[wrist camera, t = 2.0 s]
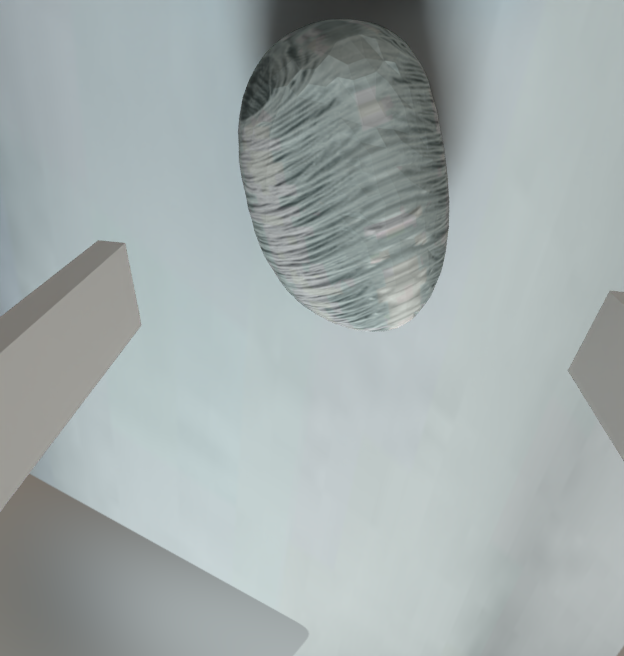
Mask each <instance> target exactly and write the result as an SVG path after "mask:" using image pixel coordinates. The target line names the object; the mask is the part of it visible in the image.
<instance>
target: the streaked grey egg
mask: <svg viewBox="0 0 624 656" xmlns="http://www.w3.org/2000/svg"><path fill="white" fill-rule="evenodd" d="M238 137H239V163H240V170H241V176H242V181H243V185H244V189H245V194H246V198H247V204H248V209H249V212H250V215H251V218H252V222H253V226H254V231H255V233H256V236H257V239H258V241H259V244H260V246H261V249H262V251H263V254H264V256H265V258H266V259H267V261H268V263H269V264H270V266H271V267H272V269H273V270H274V272H275V274H276V275H277V277H278V278H279V280H280V281H281V283H282V284H283V286H284V287H285V288H286V289H287V291H288V292H289V293H290V294H291V295H293V296H294V297H295V299H296V300H297V301H298V302H300V303H301V304H302V305H303V306H305V307H307V308H308V309H309V310H311V311H312V312H314V313H315V314H317V315H319V316H321V317H323V318H325V319H326V320H328V321H330V322H332V323H335V324H338V325H341V326H344V327H347V328H351V329H355V330H360V331H387V330H391V329H396V328H398V327H400V326H402V325H404V324H406V323H407V322H409V321H411V320H412V319H413V318H414V317H415V316H416V314H417V313H418V312H419V311H420V310H421V309H422V307H423V306H424V305H425V304H426V302H427V301H428V299H429V298H430V296H431V294H432V292H433V290H434V287H435V285H436V283H437V280H438V278H439V275H440V273H441V270H442V266H443V262H444V257H445V252H446V245H447V237H448V229H449V193H448V179H447V167H446V160H445V153H444V147H443V140H442V134H441V130H440V126H439V120H438V114H437V109H436V106H435V103H434V100H433V97H432V93H431V89H430V85H429V81H428V78H427V76H426V74H425V72H424V70H423V68H422V66H421V64H420V63H419V61H418V60H417V58H416V57H415V55H414V54H413V52H412V51H411V49H410V48H409V46H408V45H407V43H406V42H404V41H403V40H402V39H401V38H399V37H398V36H397V35H395V34H394V33H393V32H391V31H389V30H388V29H386V28H384V27H381V26H379V25H377V24H375V23H370V22H365V21H359V20H351V19H334V20H324V21H319V22H316V23H313V24H310V25H307V26H305V27H302V28H300V29H298V30H296V31H294V32H292V33H289V34H287V35H286V36H285V37H283V38H282V39H281V40H279V41H278V42H277V43H276V44H275V45H274V46H273V47H272V48H271V49H270V50H269V51H268V52H267V53H266V54H265V55H264V56H263V58H262V59H261V61H260V62H259V64H258V65H257V67H256V68H255V70H254V72H253V74H252V76H251V78H250V80H249V82H248V85H247V87H246V90H245V93H244V96H243V100H242V105H241V111H240V117H239V128H238Z"/></svg>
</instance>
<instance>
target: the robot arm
mask: <svg viewBox="0 0 624 656" xmlns="http://www.w3.org/2000/svg"><path fill="white" fill-rule="evenodd" d="M140 326H141V320H140V315H139V310H138V305H137V300H136V295H135V290H134V285H133V280H132V275H131V270H130V265H129V260H128V255H127V250H126V245H125V243H119V242H109V241H99V240H98V241H97V242H96V243H94V244H93V245H92V246H91V247H89V248H88V249H87V250H85V251H84V252H83V253H82V254H80V255H79V256H78V257H76V258H75V259H74V260H73V261H71V262H70V263H69V264H68V265H66V266H65V267H64V268H62V269H61V270H60V271H59V272H57V273H56V274H55V275H53V276H52V277H51V278H50V279H48V280H47V281H46V282H44V283H43V284H42V285H41V286H39V287H38V288H37V289H36V290H34V291H33V292H32V293H30V294H29V295H28V296H27V297H25V298H24V299H23V300H21V301H20V302H19V303H18V304H16V305H15V306H14V307H12V308H11V309H10V310H9V311H7V312H6V313H5V314H4V315H2V316H1V317H0V511H1V510H2V509H3V507H4V506H5V505H6V503H7V502H8V501H9V499H10V498H11V497H12V495H13V494H14V493H15V491H16V490H17V489H18V487H19V486H20V485H21V484H22V482H23V481H24V479H25V478H26V477H27V476H28V474H29V473H30V472H31V470H32V469H33V468H34V466H35V465H36V464H37V462H38V461H39V460H40V458H41V457H42V456H43V455H44V453H45V452H46V451H47V449H48V448H49V447H50V445H51V444H52V443H53V441H54V440H55V439H56V437H57V436H58V435H59V433H60V432H61V431H62V429H63V428H64V427H65V425H66V424H67V423H68V421H69V420H70V419H71V418H72V416H73V415H74V414H75V412H76V411H77V410H78V408H79V407H80V406H81V404H82V403H83V402H84V400H85V399H86V398H87V396H88V395H89V394H90V392H91V391H92V390H93V388H94V387H95V386H96V385H97V383H98V382H99V381H100V379H101V378H102V377H103V375H104V374H105V373H106V371H107V370H108V369H109V367H110V366H111V365H112V363H113V362H114V361H115V359H116V358H117V357H118V355H119V354H120V353H121V352H122V350H123V349H124V348H125V346H126V345H127V344H128V342H129V341H130V340H131V338H132V337H133V336H134V334H135V333H136V332H137V330H138V329H139V328H140ZM568 372H569V373H570V375H571V376H572V378H573V380H574V381H575V383H576V384H577V386H578V388H579V389H580V391H581V393H582V394H583V396H584V397H585V399H586V401H587V402H588V404H589V406H590V407H591V409H592V410H593V412H594V414H595V415H596V417H597V419H598V420H599V422H600V423H601V425H602V427H603V428H604V430H605V432H606V433H607V435H608V436H609V438H610V440H611V441H612V443H613V445H614V446H615V448H616V449H617V451H618V453H619V454H620V456H621V458H622V459H623V461H624V292H618V291H609V293H608V295H607V297H606V299H605V301H604V303H603V305H602V306H601V308H600V310H599V312H598V314H597V316H596V318H595V320H594V322H593V324H592V326H591V327H590V329H589V331H588V333H587V335H586V337H585V339H584V341H583V343H582V345H581V347H580V348H579V350H578V352H577V354H576V356H575V358H574V360H573V362H572V364H571V366H570V367H569V369H568Z"/></svg>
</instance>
